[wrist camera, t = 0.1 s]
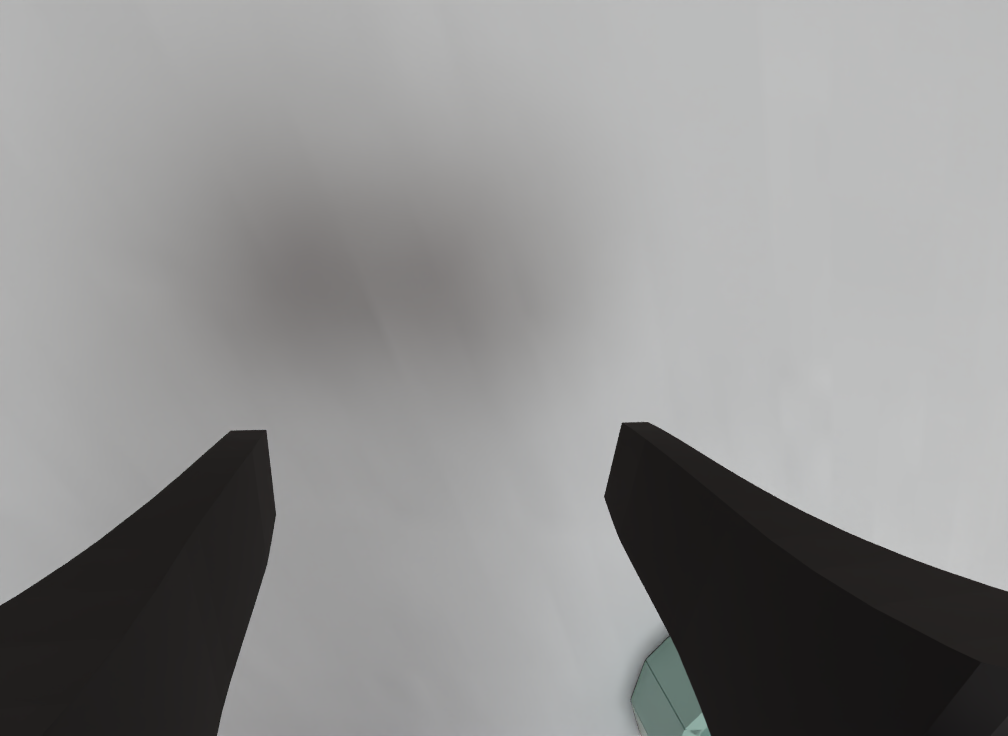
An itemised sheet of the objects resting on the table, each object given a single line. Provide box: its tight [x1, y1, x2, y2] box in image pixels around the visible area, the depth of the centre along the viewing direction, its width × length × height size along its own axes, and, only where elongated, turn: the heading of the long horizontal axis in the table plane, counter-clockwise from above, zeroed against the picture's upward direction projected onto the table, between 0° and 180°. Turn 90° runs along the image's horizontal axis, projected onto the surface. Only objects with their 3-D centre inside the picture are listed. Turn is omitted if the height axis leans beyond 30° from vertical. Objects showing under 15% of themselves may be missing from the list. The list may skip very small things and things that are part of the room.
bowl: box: [631, 636, 711, 736], centre depth 28 cm, size 10×10×4 cm
